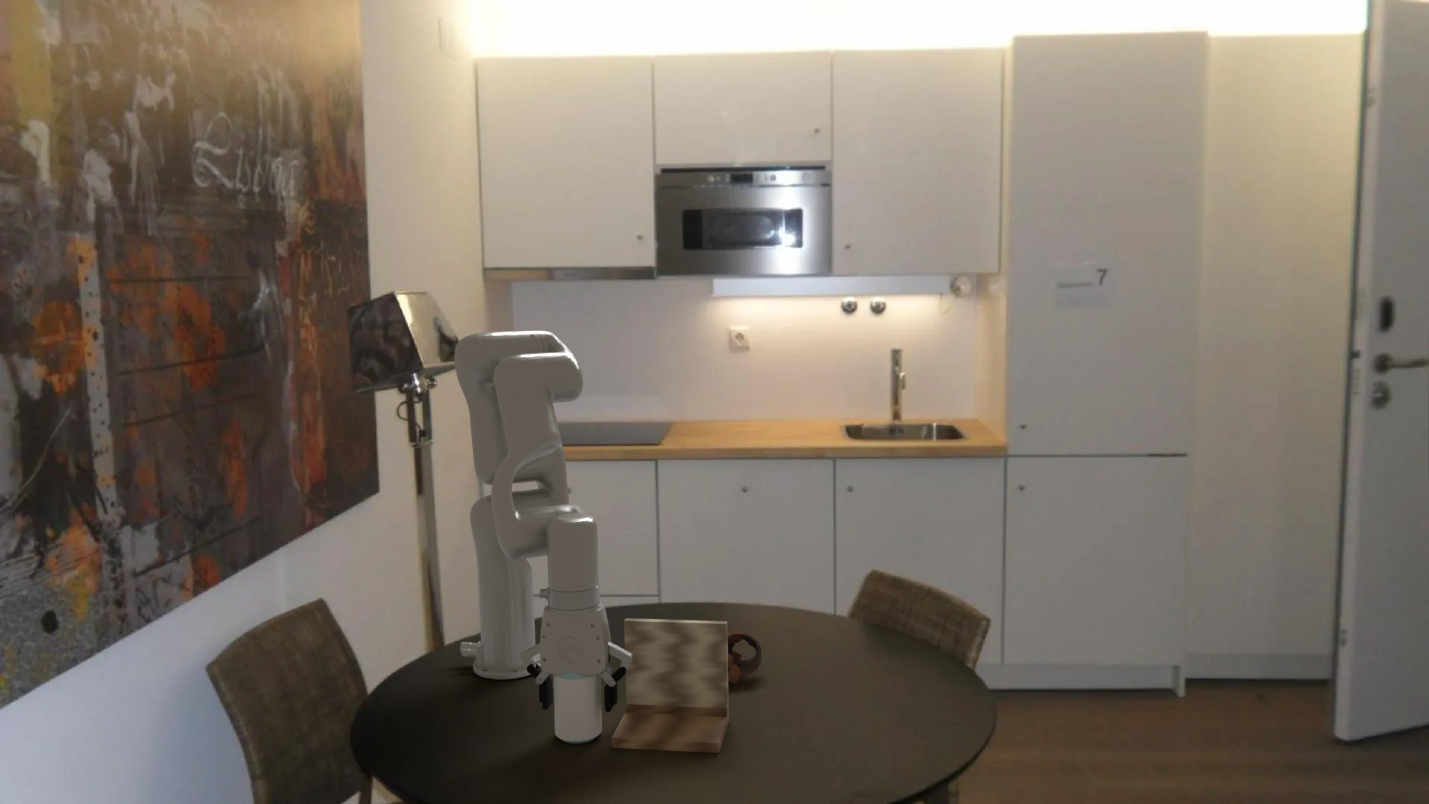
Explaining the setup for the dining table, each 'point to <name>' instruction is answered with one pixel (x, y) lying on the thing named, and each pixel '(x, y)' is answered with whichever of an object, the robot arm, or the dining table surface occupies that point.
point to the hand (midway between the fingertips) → (578, 707)
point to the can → (577, 707)
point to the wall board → (675, 686)
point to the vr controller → (733, 657)
